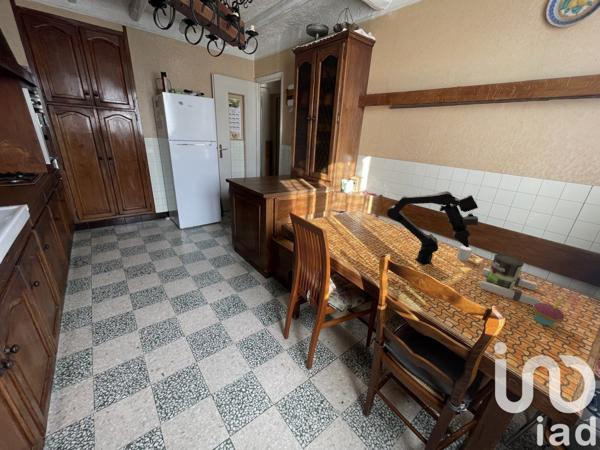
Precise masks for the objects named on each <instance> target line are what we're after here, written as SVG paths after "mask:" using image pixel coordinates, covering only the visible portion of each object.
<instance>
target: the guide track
mask: <svg viewBox="0 0 600 450" xmlns="http://www.w3.org/2000/svg"><path fill="white" fill-rule="evenodd" d="M489 271H490V268H486V267H483V270H482V272H481V275H483V276H486V277H487V276H488V273H489ZM485 281H486V280H481V281H480V283H479V287H478V288H479V289H481V290H485V291H488V292H491V293H493V294H497V295H500V296H502V297H506V298H509V299H511V300H514V301H517V302H521V303H524V304H526V303H527V304H526V305H529V304H530V306H532V305H535V304H536V303H541V299H540V298H539V297H535V296H532V295H529V294H526V293H523V291H522V290H521V289H519V288H515V290H513V289H512V290H510V289H507V288H504V287H501V286H498V285H495V284H491V283H488V282H485ZM514 286H519V287H521V286H522V288H524V287H525V289H528V290H531V289H532V290H531V291H536V288H537V286H538V284H537V282H533V281H531V280H527V279H523V278H521V275H518V278H517V280H516V282H515V284H514Z"/></svg>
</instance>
